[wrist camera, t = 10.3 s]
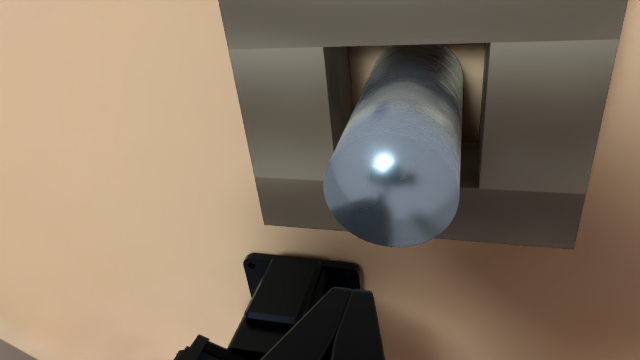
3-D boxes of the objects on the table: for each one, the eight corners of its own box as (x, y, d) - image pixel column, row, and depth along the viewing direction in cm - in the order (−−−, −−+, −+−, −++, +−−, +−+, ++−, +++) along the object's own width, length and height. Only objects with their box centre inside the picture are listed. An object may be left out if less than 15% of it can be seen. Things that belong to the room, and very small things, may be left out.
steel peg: (461, 124, 20) (456, 252, 13) (373, 122, 21) (329, 241, 14) (465, 35, 18) (462, 135, 11) (369, 39, 19) (316, 132, 12)
